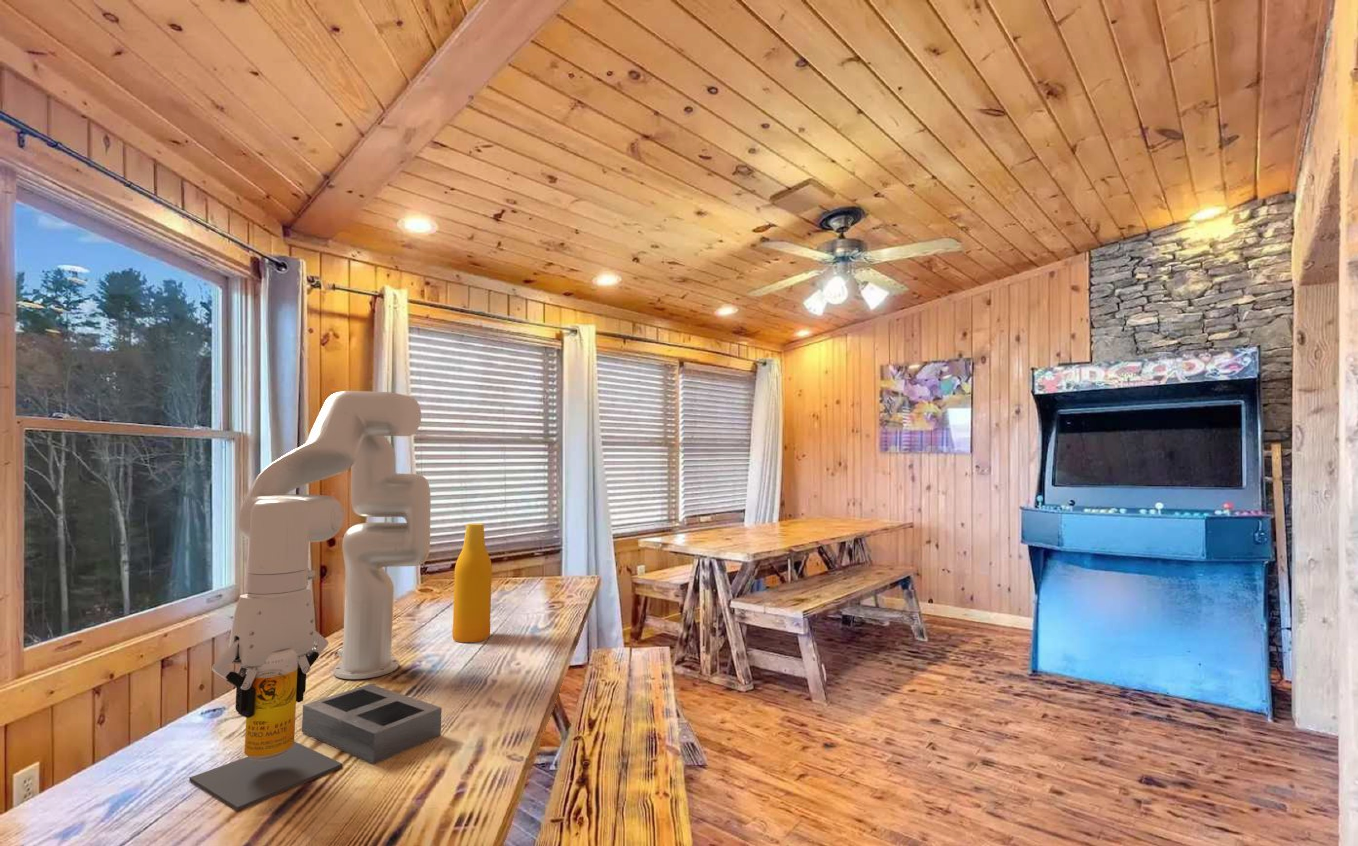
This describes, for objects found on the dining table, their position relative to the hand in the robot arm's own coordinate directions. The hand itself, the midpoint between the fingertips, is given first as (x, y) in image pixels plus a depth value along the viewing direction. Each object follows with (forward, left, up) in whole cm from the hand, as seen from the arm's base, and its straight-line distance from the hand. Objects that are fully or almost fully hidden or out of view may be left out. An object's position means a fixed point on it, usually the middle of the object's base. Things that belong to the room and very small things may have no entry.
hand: (271, 706), depth 92 cm
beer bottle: (-31, +63, -10) cm, 71 cm away
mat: (0, 0, -10) cm, 10 cm away
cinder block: (0, +16, -10) cm, 19 cm away
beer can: (0, 0, -7) cm, 7 cm away
